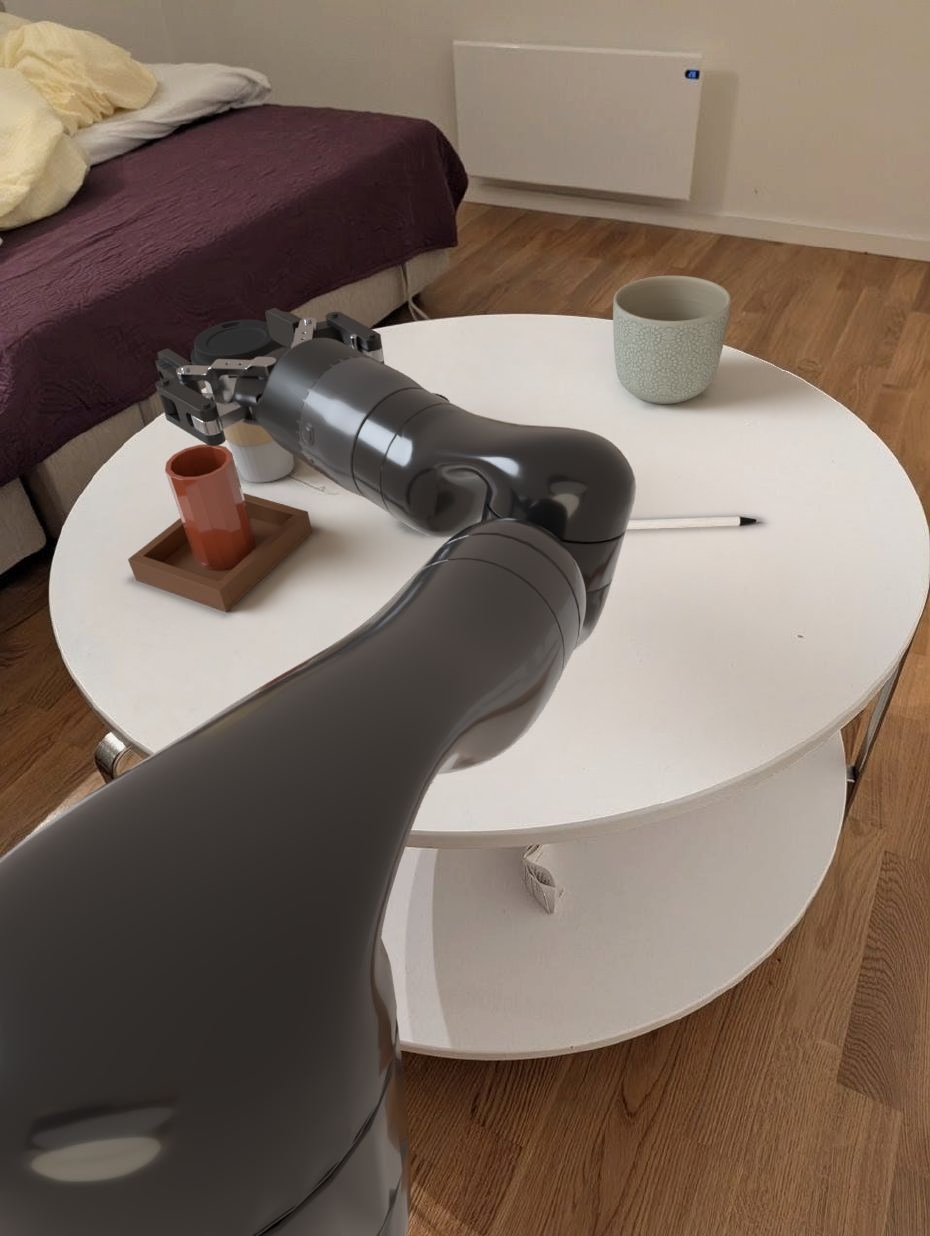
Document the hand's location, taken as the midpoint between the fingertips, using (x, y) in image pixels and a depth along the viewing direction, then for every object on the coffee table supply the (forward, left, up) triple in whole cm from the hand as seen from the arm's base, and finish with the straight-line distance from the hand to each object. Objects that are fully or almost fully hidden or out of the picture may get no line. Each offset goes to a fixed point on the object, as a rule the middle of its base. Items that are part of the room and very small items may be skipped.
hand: (220, 342), depth 65 cm
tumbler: (+4, +10, -25) cm, 27 cm away
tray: (+4, +10, -25) cm, 27 cm away
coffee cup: (+18, +16, -25) cm, 35 cm away
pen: (+24, -25, -25) cm, 43 cm away
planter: (+50, -17, -25) cm, 58 cm away
